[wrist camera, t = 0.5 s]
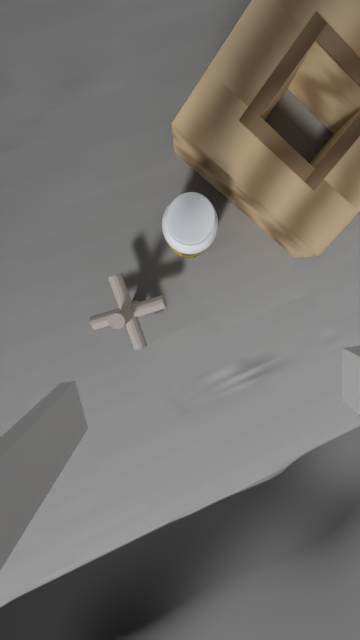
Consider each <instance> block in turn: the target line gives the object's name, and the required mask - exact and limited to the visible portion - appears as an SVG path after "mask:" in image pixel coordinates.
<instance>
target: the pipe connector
mask: <svg viewBox="0 0 360 640" xmlns="http://www.w3.org/2000/svg"><path fill="white" fill-rule="evenodd" d="M108 279H109V282H110V284H111V287H112V290H113V293H114V295H115V298H116V301H117V303H118V306H119V308H118V309H115V310H112V311H108V312H105V313H102V314H99V315H95V316H92V317H90V324H91V326H92V328H93V329H94V330H95V329H99V328H102V327H106V326H109V325H110V326H111V327H112V328H114V329H121V328H122V327H123V326H124V325H126V327H127V330H128V333H129V336H130V338H131V341H132V344H133V346H134V349H135V350H139V349H142V348H144V347H146V346H147V343H146V340H145V337H144V335H143V332H142V329H141V326H140V324H139V321H138V318H137V317H139V316H142V315H145V314H149V313H152V312H155V311H159V310H162V309H165V308H166V303H165V300H164V297H163V295H160V296H157V297H154V298H150V299H147V300H144V301H141V302H139V301H133V302H132V301H131V298H130V296H129V293H128V290H127V287H126V284H125V282H124V279H123V276H122V274H118V275H114V276H111V277H108Z"/></svg>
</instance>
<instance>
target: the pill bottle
mask: <svg viewBox="0 0 360 640" xmlns="http://www.w3.org/2000/svg"><path fill="white" fill-rule="evenodd" d="M162 230H163V234H164V237H165V239H166V241H167V243H168V244H169V246H170V248H171V249H172V250H173V251H174V252H175V253H176V254H177V255H179V256H182V257H186V258H191V257H195V256H198V255H200V254H201V253H202V252H204V251H205V250H206V249H207V248H208V247H209V246H210V245H211V244H212V242H213V241H214V239H215V237H216V234H217V231H218V217H217V213H216V211H215V209H214V207H213V205H212V204H211V202H210V201H209V200H208V199H207V198H206V197H205V196H203V195H202V194H199V193H196V192H187V193H183V194H181V195H179V196H178V197H176V198H175V199H174V200H173V201H171V202H170V204H169V205H168V206H167V208H166V210H165V212H164V215H163V219H162Z"/></svg>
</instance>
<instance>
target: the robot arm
mask: <svg viewBox="0 0 360 640" xmlns="http://www.w3.org/2000/svg"><path fill="white" fill-rule="evenodd" d="M342 400H343V401H344V402H345V403H346V404H347V405H349V406H350V407H351V408H352V409H353V410H355V411H356V412H357V413H358V414H359V415H360V346H356V347H348V348H343V367H342ZM87 429H88V426H87V423H86V419H85V415H84V412H83V408H82V404H81V401H80V397H79V393H78V390H77V386H76V382H75V381H73V382H65V383H60V384H59V385H58V386H57V387H56V388H55V389H54V390H52V391H51V392H50V393H49V394H48V395H47V396H46V397H45V398H44V399H43V400H41V401H40V402H39V403H38V404H37V405H36V406H35V407H34V408H33V409H32V410H30V411H29V412H28V413H27V414H26V415H25V416H24V417H23V418H22V419H21V420H19V421H18V422H17V423H16V424H15V425H14V426H13V427H12V428H11V429H10V430H8V431H7V432H6V433H5V434H4V435H3V436H2V437H1V438H0V570H1V568H2V567H3V565H4V563H5V562H6V560H7V559H8V557H9V555H10V554H11V552H12V550H13V549H14V547H15V546H16V544H17V542H18V541H19V539H20V537H21V536H22V534H23V533H24V531H25V529H26V528H27V526H28V524H29V523H30V521H31V520H32V518H33V516H34V515H35V513H36V512H37V510H38V508H39V507H40V505H41V503H42V502H43V500H44V499H45V497H46V495H47V494H48V492H49V490H50V489H51V487H52V486H53V484H54V482H55V481H56V479H57V477H58V476H59V474H60V473H61V471H62V469H63V468H64V466H65V465H66V463H67V461H68V460H69V458H70V456H71V455H72V453H73V452H74V450H75V448H76V447H77V445H78V443H79V442H80V440H81V439H82V437H83V435H84V434H85V432H86V430H87Z"/></svg>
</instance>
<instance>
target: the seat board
mask: <svg viewBox="0 0 360 640" xmlns="http://www.w3.org/2000/svg"><path fill="white" fill-rule="evenodd" d="M287 89H288V90H289V91H290V92H291V93H292V94H293V95H294V96H295V97H296V98H297V99H298V100H299V101H300V102H301V103H302V104H303V105H304V106H305V107H306V108H307V109H308V110H309V111H310V112H311V113H312V114H313V115H314V116H315V117H316V118H317V119H318V120H319V121H320V122H321V123H322V124H323V125H324V126H325V127H326V128H327V129H328V130H329V131H330V132H332V133H333V135H332V136H331V137H330V139H329V140H328V141H327V142H326V144H325V145H324V146H323V147H322V149H321V150H320V151H319V152H318V154H317V155H316V156H315V157H314V159H313V160H312V161H311V162H310V163H308V162H307V161H306V160H305V159H304V158H303V157H302V156H301V155H300V154H299V153H298V152H297V151H296V150H295V149H294V148H293V147H292V146H291V145H290V144H289V143H288V142H286V141H285V140H284V139H283V138H282V137H281V136H280V135H279V134H278V133H277V132H276V131H275V130H274V129H273V128H272V127H271V126H270V125H269V124H268V123H267V122H266V121H264V120H265V119H266V118H267V116H268V115H269V114H270V112H271V111H272V110H273V108H274V107H275V106H276V104H277V103H278V101H279V100H280V99H281V97H282V96H283V95H284V93H285V92H286V91H287ZM172 132H173V143H174V152H175V153H176V154H177V155H178V156H179V157H180V158H181V159H183V160H184V161H185V162H186V163H187V164H188V165H189V166H191V167H192V168H193V169H194V170H195V171H196V172H197V173H199V174H200V175H201V176H202V177H203V178H204V179H205V180H207V181H208V182H209V183H210V184H211V185H212V186H213V187H215V188H216V189H217V190H218V191H219V192H220V193H221V194H223V195H224V196H225V197H226V198H227V199H228V200H229V201H231V202H232V203H233V204H234V205H235V206H236V207H237V208H239V209H240V210H241V211H242V212H243V213H244V214H245V215H247V216H248V217H249V218H250V219H251V220H252V221H253V222H255V223H256V224H257V225H258V226H259V227H260V228H261V229H263V230H264V231H265V232H266V233H267V234H268V235H269V236H271V237H272V238H273V239H274V240H275V241H276V242H277V243H279V244H280V245H281V246H282V247H283V248H284V249H285V250H287V251H288V252H289V253H290V254H291V255H292V256H293V257H295V258H299V257H309V256H319V255H320V254H321V253H322V252H323V251H324V250H325V249H326V248H327V246H328V245H329V244H330V243H331V242H332V241H333V240H334V239H335V237H336V236H337V235H338V234H339V233H340V232H341V231H342V230H343V229H344V227H345V226H346V225H347V224H348V223H349V222H350V221H351V220H352V218H353V217H354V216H355V215H356V214H357V213H358V212H359V211H360V0H252V1H251V2H250V4H249V5H248V7H247V8H246V10H245V12H244V13H243V15H242V16H241V18H240V19H239V21H238V22H237V24H236V25H235V27H234V28H233V30H232V32H231V33H230V35H229V36H228V38H227V39H226V41H225V42H224V44H223V45H222V47H221V48H220V50H219V52H218V53H217V55H216V56H215V58H214V59H213V61H212V62H211V64H210V65H209V67H208V68H207V70H206V72H205V73H204V75H203V76H202V78H201V79H200V81H199V82H198V84H197V85H196V87H195V88H194V90H193V92H192V93H191V95H190V96H189V98H188V99H187V101H186V102H185V104H184V105H183V107H182V108H181V110H180V112H179V113H178V115H177V116H176V118H175V119H174V121H173V122H172Z"/></svg>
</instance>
